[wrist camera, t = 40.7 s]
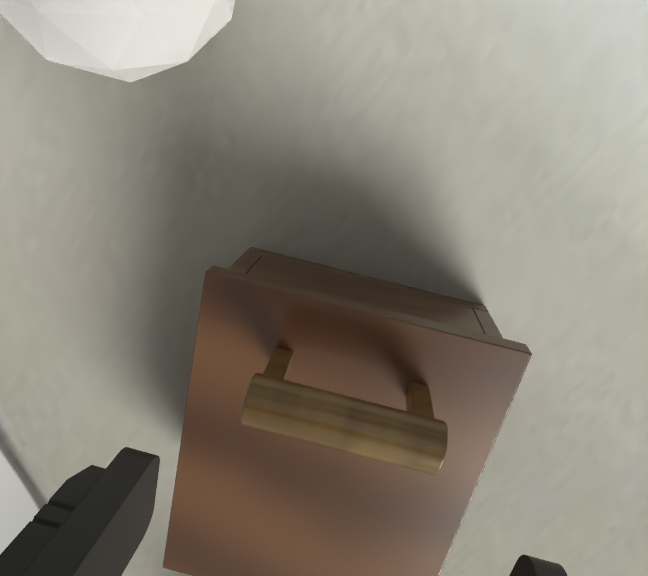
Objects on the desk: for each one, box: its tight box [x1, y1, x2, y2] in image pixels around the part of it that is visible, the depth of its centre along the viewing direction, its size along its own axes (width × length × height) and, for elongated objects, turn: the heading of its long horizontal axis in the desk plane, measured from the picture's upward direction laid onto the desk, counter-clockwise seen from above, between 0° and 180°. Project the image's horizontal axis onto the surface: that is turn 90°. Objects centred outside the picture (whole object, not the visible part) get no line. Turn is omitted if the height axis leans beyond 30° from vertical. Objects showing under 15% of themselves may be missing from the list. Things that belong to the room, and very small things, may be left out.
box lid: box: [163, 266, 532, 576], centre depth 18 cm, size 14×12×5 cm
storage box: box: [228, 248, 503, 338], centre depth 23 cm, size 14×12×6 cm
